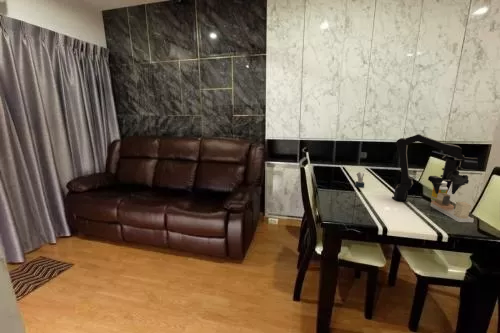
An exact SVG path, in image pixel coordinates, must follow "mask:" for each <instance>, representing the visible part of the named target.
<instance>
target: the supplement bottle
mask: <svg viewBox="0 0 500 333" xmlns="http://www.w3.org/2000/svg"><path fill="white" fill-rule="evenodd" d="M441 184H442V185H440V188H439V192H438V193H446V194H448V190H449V188H448V187H447V185H448V181H442V183H441ZM437 196H438V194H436V193H435V190H434V187H432V192H431V197H430V200H431V202H432V201H436V200H437Z"/></svg>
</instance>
